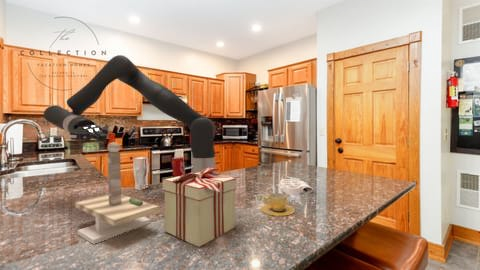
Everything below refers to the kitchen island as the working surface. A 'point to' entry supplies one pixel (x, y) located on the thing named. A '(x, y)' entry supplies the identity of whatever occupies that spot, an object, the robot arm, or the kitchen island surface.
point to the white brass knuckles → (294, 186)
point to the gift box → (199, 206)
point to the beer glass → (140, 172)
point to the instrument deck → (116, 210)
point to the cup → (277, 204)
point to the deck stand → (109, 229)
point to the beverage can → (178, 166)
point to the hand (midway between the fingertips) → (103, 138)
